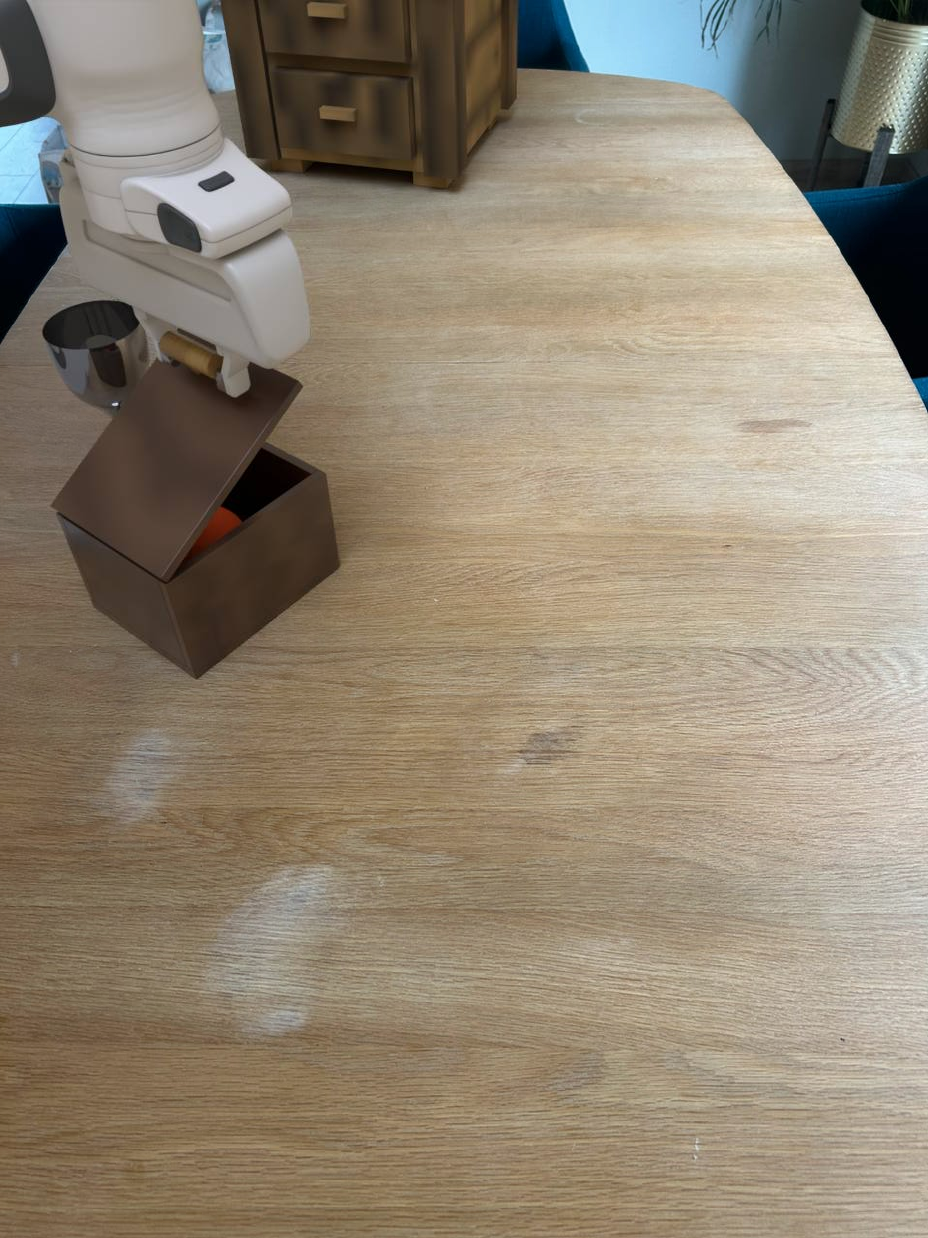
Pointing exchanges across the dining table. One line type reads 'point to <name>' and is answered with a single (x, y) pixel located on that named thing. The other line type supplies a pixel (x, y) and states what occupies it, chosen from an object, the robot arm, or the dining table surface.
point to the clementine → (214, 531)
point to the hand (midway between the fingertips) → (204, 375)
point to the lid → (173, 454)
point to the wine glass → (98, 352)
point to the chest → (222, 567)
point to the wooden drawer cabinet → (371, 80)
